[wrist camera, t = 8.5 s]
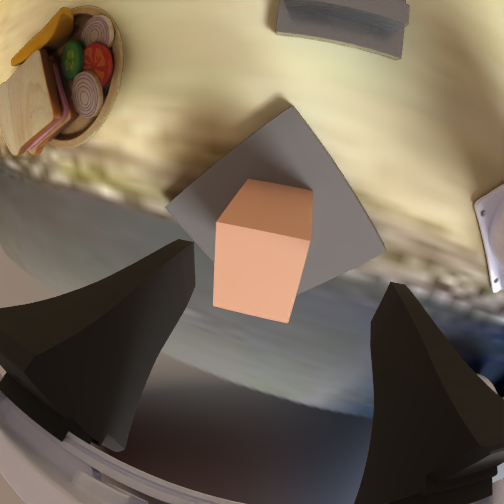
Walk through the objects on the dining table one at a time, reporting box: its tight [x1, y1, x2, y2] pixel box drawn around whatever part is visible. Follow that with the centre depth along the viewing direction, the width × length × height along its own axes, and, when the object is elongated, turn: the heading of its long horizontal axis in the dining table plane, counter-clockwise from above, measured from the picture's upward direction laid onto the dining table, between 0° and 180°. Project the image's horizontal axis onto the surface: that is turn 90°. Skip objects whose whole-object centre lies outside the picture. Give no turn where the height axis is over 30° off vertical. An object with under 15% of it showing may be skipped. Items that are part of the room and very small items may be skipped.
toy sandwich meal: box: [0, 6, 123, 156], centre depth 14 cm, size 12×14×5 cm
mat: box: [165, 106, 386, 295], centre depth 19 cm, size 11×11×1 cm
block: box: [213, 179, 313, 323], centre depth 15 cm, size 5×4×6 cm
